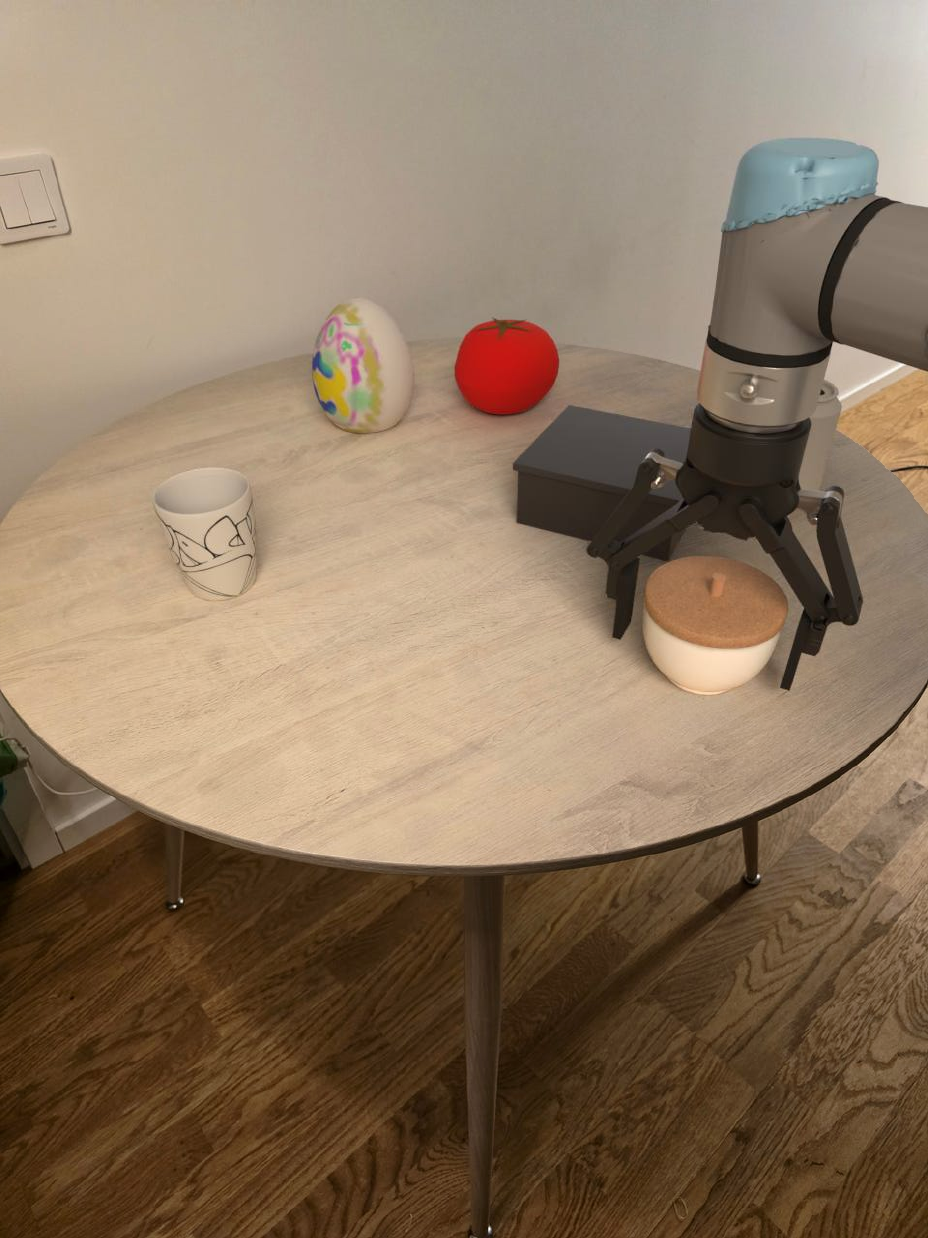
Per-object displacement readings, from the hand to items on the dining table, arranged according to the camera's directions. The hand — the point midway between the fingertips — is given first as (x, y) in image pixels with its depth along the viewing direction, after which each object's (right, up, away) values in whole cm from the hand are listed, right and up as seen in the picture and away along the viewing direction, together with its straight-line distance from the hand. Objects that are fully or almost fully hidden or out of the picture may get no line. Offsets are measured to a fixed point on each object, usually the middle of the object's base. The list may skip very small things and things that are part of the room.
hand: (701, 653), depth 70 cm
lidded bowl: (0, -2, +1) cm, 2 cm away
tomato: (-14, +30, +41) cm, 53 cm away
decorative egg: (-31, +28, +39) cm, 57 cm away
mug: (-43, +7, +13) cm, 45 cm away
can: (+15, +16, +23) cm, 32 cm away
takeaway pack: (-4, +14, +21) cm, 26 cm away
